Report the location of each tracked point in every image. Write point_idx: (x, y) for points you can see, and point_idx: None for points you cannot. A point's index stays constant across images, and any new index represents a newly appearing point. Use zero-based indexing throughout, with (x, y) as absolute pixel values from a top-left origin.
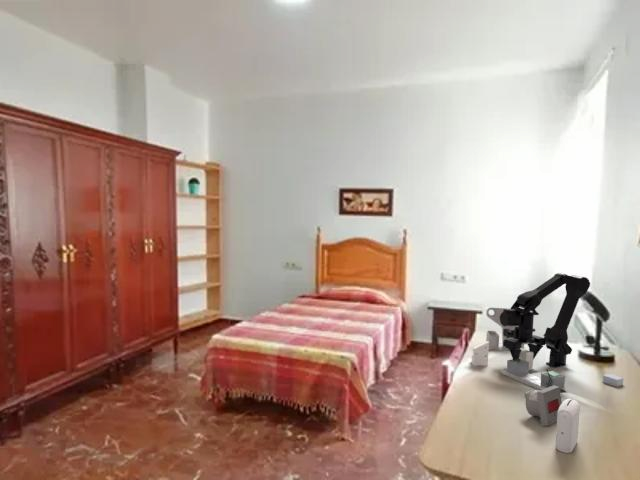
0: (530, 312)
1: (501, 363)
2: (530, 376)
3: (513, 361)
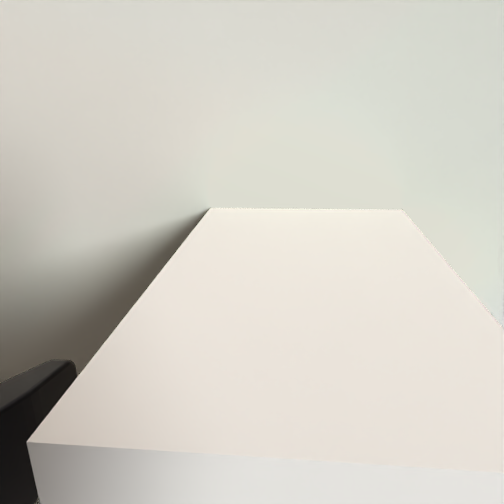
0: None
1: (67, 7)
2: None
3: None
